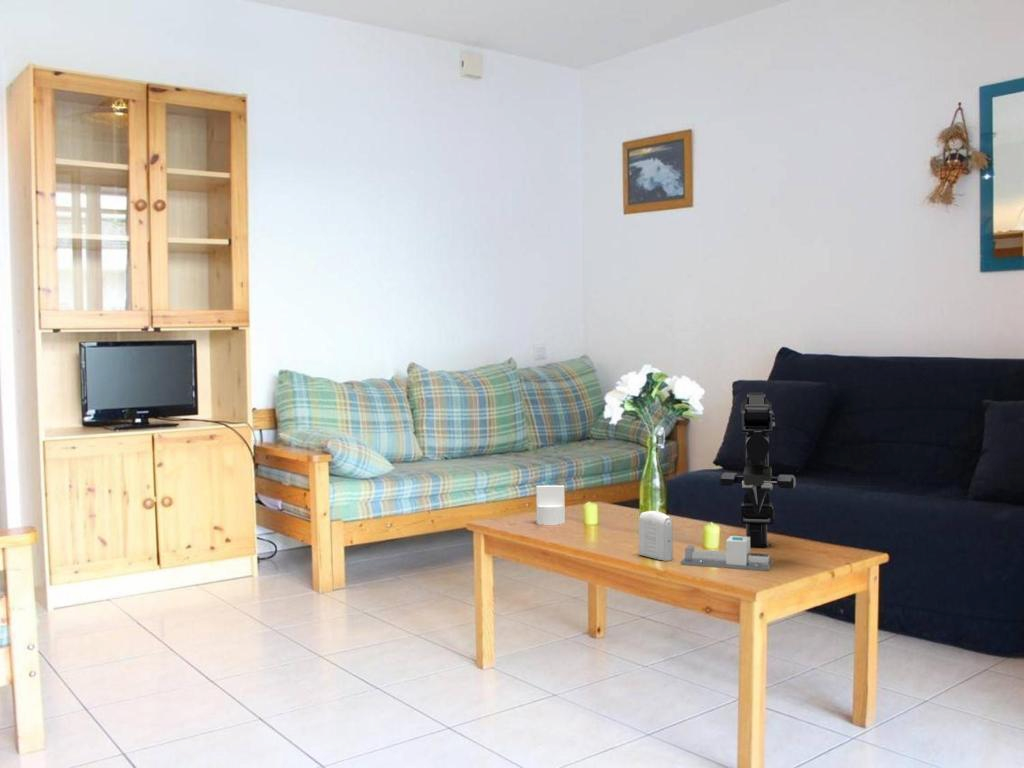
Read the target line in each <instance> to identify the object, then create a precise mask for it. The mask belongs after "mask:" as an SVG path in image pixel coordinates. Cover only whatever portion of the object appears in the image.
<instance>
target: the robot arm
mask: <svg viewBox="0 0 1024 768" xmlns="http://www.w3.org/2000/svg"><path fill="white" fill-rule="evenodd" d="M740 422H741V433H742V434H743V433H746V435H745V465H744V468H743V472H742V473H743V475H741V476H740V475H739V476H738V474H739V473H738V472H723V473H722V474H720V475H719V479H718V480H719V481H718V482H719V483H718V484H719V486H720V487H721V486H722V487H724V486H725V487H733V485H734V484H741V485H742V487H741V490H743V491H746V492H745V493H744V495H743V502H741V506H740V507H741V508H740V511H741V512H740V514H741V515H740V516H741V517H740V520H741V523H740V524H741V525H745V526H746V528H745V532H746V533H745V536H746V537H750V548H751V547H754V548H755V547H756V548H768V547H769V545H770V544H771V542H770V541H769V540H768V525H770V526H772V525H775V517H776V516H775V515H776V514H775V507H774V505H773V502H770V495H769V494H768V492H770V491H772V490H773V488H774V486H773V485H776V486H778V487H779V488H780V489H789V490H790V489H794V488H795V487H796V485H797V483H796V482H797V480H796V477H795V475H794V474H779V475H778V476H777V477H774V476H773V471H772V466H769V465H770V462H769V461H770V459H769V457H770V456H769V455H770V453H769V452H770V441H769V438H770V437H769V435H768V434H769V433H771V434H772V433H773V430H775V429H776V417H775V413H774V411H773V409H772V403H771V402H770V400H768V399H767V398H766V393H764V392H749V393H747V394H746V399H744V400H743V401H742V402H741V403H740Z"/></svg>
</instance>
